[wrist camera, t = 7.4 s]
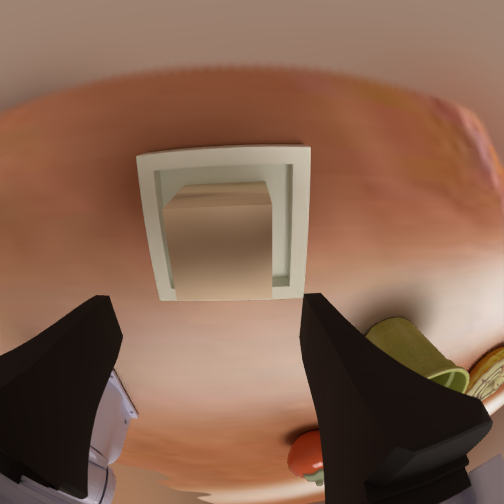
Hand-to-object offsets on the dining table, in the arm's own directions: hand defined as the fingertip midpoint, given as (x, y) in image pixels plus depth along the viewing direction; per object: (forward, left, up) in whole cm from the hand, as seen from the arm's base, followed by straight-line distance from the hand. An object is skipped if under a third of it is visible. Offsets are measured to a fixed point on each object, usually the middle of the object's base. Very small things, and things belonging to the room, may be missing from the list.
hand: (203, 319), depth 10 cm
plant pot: (-12, -14, -10) cm, 21 cm away
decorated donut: (-23, -36, -10) cm, 44 cm away
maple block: (0, 0, -9) cm, 9 cm away
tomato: (-30, -9, -10) cm, 33 cm away
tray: (0, 0, -10) cm, 10 cm away
